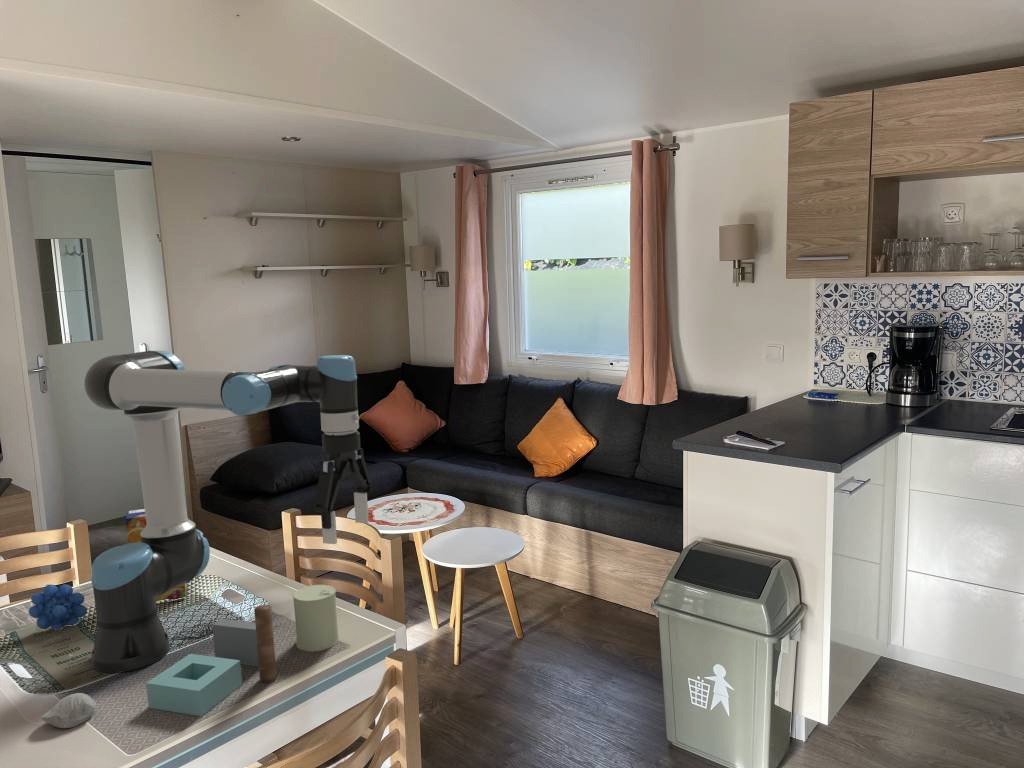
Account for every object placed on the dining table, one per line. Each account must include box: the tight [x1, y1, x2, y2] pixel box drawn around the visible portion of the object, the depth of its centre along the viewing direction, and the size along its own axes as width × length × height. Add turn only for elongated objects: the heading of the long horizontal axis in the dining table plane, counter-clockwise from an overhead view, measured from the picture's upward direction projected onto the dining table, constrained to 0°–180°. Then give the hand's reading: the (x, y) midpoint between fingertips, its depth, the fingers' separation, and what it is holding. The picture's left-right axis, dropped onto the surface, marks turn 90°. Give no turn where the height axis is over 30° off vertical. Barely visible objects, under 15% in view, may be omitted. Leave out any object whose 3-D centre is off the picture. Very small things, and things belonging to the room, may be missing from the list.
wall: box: [212, 618, 259, 667], centre depth 165 cm, size 12×3×8 cm, turn 73°
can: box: [292, 584, 340, 652], centre depth 172 cm, size 9×9×12 cm
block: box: [145, 653, 243, 717], centre depth 151 cm, size 12×12×5 cm
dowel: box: [253, 604, 278, 684], centre depth 156 cm, size 3×3×15 cm
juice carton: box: [125, 508, 187, 600], centre depth 196 cm, size 12×8×24 cm, turn 112°
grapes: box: [28, 584, 88, 630], centre depth 181 cm, size 12×7×12 cm, turn 126°
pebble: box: [40, 692, 97, 729], centre depth 144 cm, size 9×8×5 cm
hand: (346, 532), depth 161 cm, fingers open, 13 cm apart
